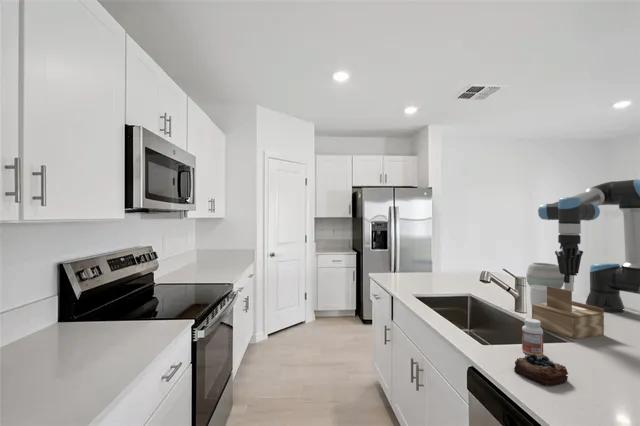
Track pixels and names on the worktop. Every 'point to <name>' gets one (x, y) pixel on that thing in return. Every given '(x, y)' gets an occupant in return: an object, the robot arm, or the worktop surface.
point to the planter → (544, 275)
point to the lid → (567, 304)
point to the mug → (538, 294)
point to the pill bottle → (532, 337)
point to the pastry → (541, 370)
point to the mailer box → (569, 323)
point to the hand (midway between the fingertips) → (568, 290)
